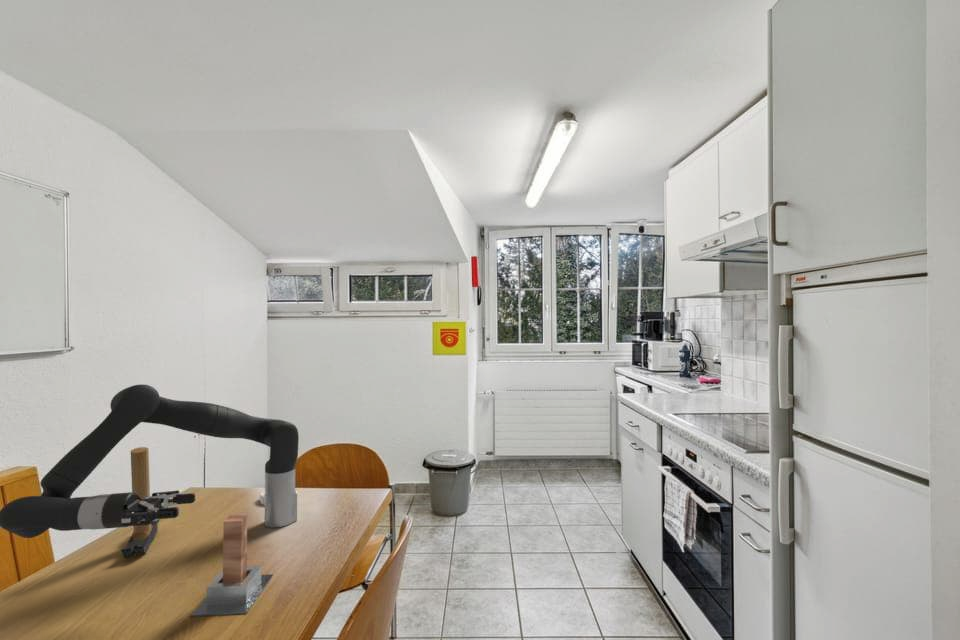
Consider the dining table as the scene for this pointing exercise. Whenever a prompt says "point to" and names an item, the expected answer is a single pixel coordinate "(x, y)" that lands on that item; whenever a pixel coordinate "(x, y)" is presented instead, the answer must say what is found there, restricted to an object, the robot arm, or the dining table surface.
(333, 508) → the dining table surface
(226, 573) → the square peg
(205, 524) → the dining table surface
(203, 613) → the socket base
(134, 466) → the hammer
